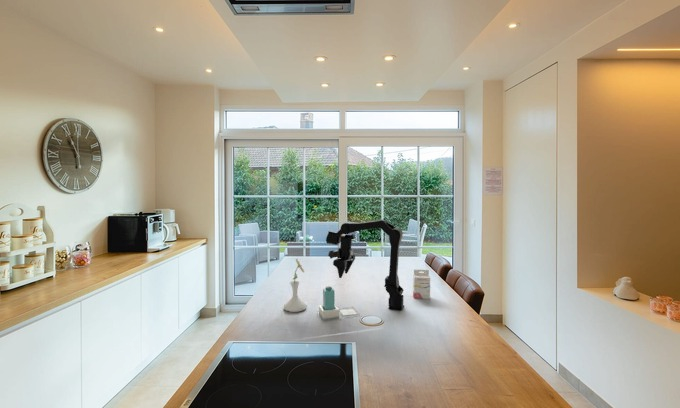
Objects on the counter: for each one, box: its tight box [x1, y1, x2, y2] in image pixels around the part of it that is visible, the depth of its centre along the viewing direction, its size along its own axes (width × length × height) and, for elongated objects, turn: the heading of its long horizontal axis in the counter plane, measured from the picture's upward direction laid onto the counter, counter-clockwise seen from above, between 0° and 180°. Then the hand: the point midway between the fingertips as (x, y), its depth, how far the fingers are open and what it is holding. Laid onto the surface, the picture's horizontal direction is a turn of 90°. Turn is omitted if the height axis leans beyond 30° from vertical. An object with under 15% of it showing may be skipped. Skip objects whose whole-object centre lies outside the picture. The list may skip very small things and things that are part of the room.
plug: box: [322, 286, 336, 310], centre depth 160 cm, size 4×4×13 cm
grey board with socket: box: [315, 304, 362, 322], centre depth 162 cm, size 19×13×4 cm
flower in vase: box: [283, 258, 308, 313], centre depth 169 cm, size 13×11×25 cm
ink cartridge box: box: [412, 269, 431, 300], centre depth 185 cm, size 9×5×15 cm, turn 84°
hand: (343, 275), depth 179 cm, fingers open, 9 cm apart
